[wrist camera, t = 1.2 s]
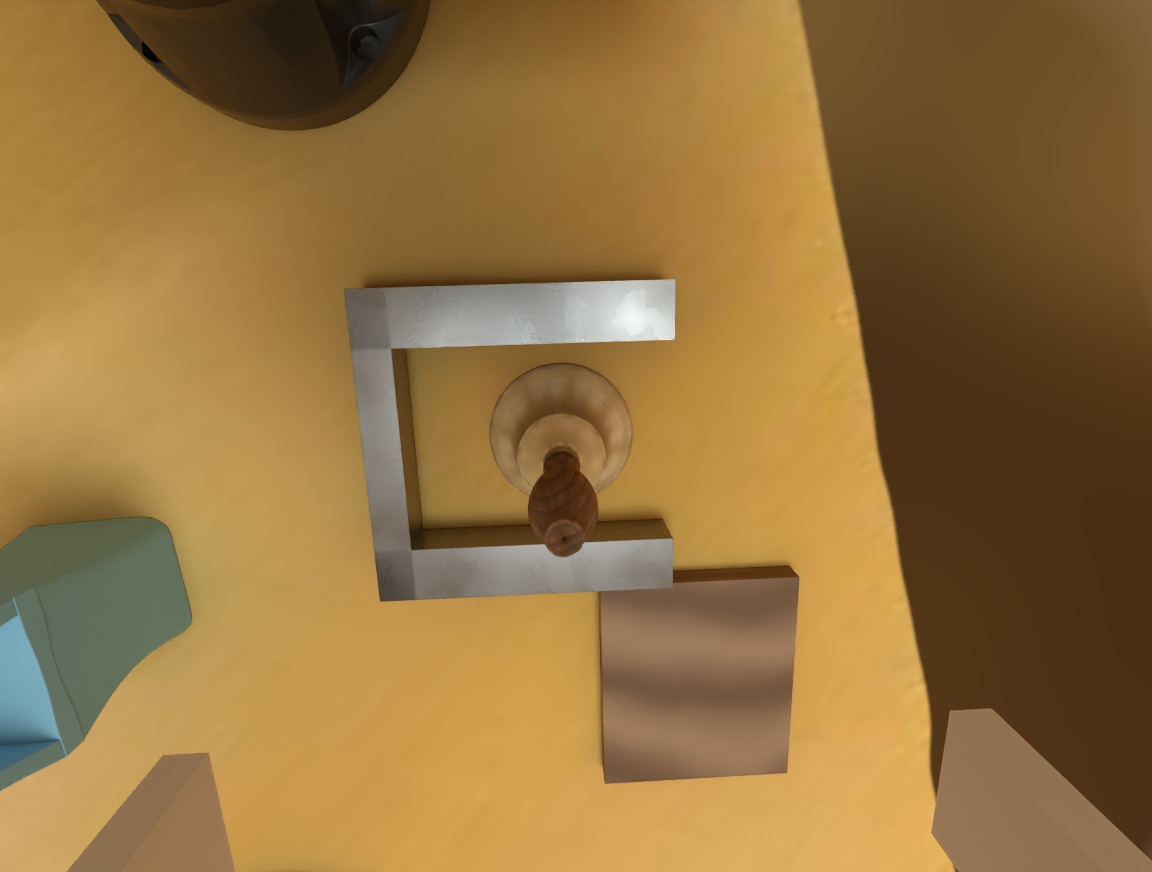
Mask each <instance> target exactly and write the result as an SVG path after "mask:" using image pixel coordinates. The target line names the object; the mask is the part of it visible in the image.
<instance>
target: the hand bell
mask: <svg viewBox="0 0 1152 872" xmlns="http://www.w3.org/2000/svg"><path fill="white" fill-rule="evenodd" d="M490 443H491V449H492V452H493V455H494V458H495V461H496V463H497V465H498V467H499V468H500V470H501V471H502V473H503V474H504V476H505V477H506V478H507V479H508V480H509V481H510V482H511V483H512V484H513V485H514V486H515V487H516V488H518V489H519V490H520V491H522V492H524V493H525V494H527V495H529V496H530V497H529V504H528V516H529V522H530V525H531V527H532V529H533V531H534V533H535V534H536V536H537V537H538V539H539V540H540V541H541V542H542V543H543V544H545V545H546V547H547V549H548V550H549V551H550V552H551V553H552V554H554V555H556V556H558V557H564V558H565V557H568V556H571V555H573V554H575V553H577V552H578V551H580V549H581V548H582V546H583V544H584V542H586V541H587V540H588V538H589V537H590V536H591V534H592V532H593V531H594V528H595V526H596V523H597V519H598V501H597V497H596V494H597V493H598V492H600V491H601V490H603V489H604V488H605V487H607V486H608V485H609V484H610V483H611V482H612V481H613V480H614V479H615V478H616V477H617V476H618V474H619V473H620V471H621V470H622V468H623V466H624V465H625V463H626V461H627V458H628V455H629V453H630V449H631V443H632V423H631V418H630V414H629V411H628V408H627V406H626V403H625V401H624V400H623V398H622V397H621V395H620V393H619V392H618V391H617V389H616V388H615V387H614V386H613V385H612V384H611V383H610V382H609V381H608V380H606V379H605V378H604V377H602V376H601V375H599V374H598V373H596V372H594V371H592V370H590V369H587V368H585V367H581V366H577V365H571V364H550V365H545V366H541V367H538V368H535V369H533V370H530V371H528V372H526V373H525V374H523V375H522V376H520V377H519V378H517V379H516V380H515V381H514V382H512V383H511V384H510V385H509V386H508V387H507V389H506V390H505V391H504V392H503V394H502V395H501V396H500V398H499V400H498V402H497V404H496V406H495V409H494V411H493V415H492V419H491V424H490Z"/></svg>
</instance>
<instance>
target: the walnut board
mask: <svg viewBox="0 0 1152 872" xmlns="http://www.w3.org/2000/svg"><path fill="white" fill-rule="evenodd" d="M798 590H799V576H798V575H797V574H796V573H795V572H794V571H793V570H792V568H791V567H790V566H781V567H759V568H738V569H716V570H694V571H673V588H656V589H635V590H614V591H599V618H600V664H601V709H602V754H603V772H604V781H605V784H609V783H626V782H643V781H660V780H677V779H694V778H711V777H728V776H745V775H762V774H779V773H787V765H788V749H789V733H790V717H791V702H792V686H793V670H794V654H795V638H796V622H797V606H798Z"/></svg>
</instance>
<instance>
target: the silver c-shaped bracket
mask: <svg viewBox="0 0 1152 872" xmlns="http://www.w3.org/2000/svg"><path fill="white" fill-rule="evenodd" d="M344 294H345V303H346V311H347V320H348V329H349V337H350V346H351V355H352V363H353V372H354V380H355V389H356V398H357V406H358V415H359V424H360V432H361V441H362V449H363V458H364V467H365V475H366V484H367V493H368V501H369V510H370V518H371V527H372V536H373V544H374V553H375V561H376V570H377V579H378V587H379V596H380V602H382V601H403V600H424V599H445V598H466V597H487V596H508V595H530V594H551V593H572V592H593V591H614V590H635V589H656V588H673V538H672V536H671V534H670V532H669V530H668V528H667V526H666V524H665V522H664V520H663V519H652V520H629V521H606V522H597V523H596V526H595V528H594V531H593V532H592V534H591V536H590V537H589V538H588V540H587V541H586V542H584V544H583V546H582V548H581V549H580V551H578V552H577V553H575V554H573V555H571V556H568V557H565V558H564V557H558V556H556V555H554V554H552V553H551V552H550V551H549V550H548V549H547V547H546V545H545V544H543V543H542V542H541V541H540V540H539V539H538V537H537V536H536V534H535V533H534V531H533V529H532V527H531V525H513V526H490V527H467V528H444V529H423V526H422V515H421V505H420V494H419V484H418V473H417V463H416V452H415V441H414V431H413V420H412V410H411V399H410V389H409V378H408V368H407V357H406V348H426V347H457V346H488V345H519V344H550V343H580V342H611V341H642V340H673V339H675V279H666V280H632V281H597V282H562V283H528V284H493V285H458V286H424V287H389V288H354V289H344Z"/></svg>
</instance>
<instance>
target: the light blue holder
mask: <svg viewBox="0 0 1152 872" xmlns="http://www.w3.org/2000/svg"><path fill="white" fill-rule="evenodd" d="M191 621H192V616H191V610H190V606H189V602H188V598H187V594H186V590H185V587H184V583H183V579H182V575H181V571H180V567H179V564H178V560H177V556H176V552H175V548H174V544H173V541H172V537H171V534H170V531H169V529H168V528H167V526H166V525H164V524H163V523H161V522H160V521H158V520H156V519H154V518H150V517H130V518H118V519H108V520H97V521H86V522H75V523H65V524H54V525H43V526H32V527H28V528H27V529H26V530H25V531H23V532H22V533H21V534H20V535H19V536H17V537H16V538H15V539H14V540H13V541H11V542H10V543H9V544H7V545H6V546H5V547H3V548H2V549H0V791H1V790H3V789H4V788H6V787H8V786H10V785H12V784H14V783H15V782H17V781H19V780H21V779H23V778H25V777H27V776H29V775H31V774H33V773H35V772H37V771H39V770H41V769H43V768H45V767H47V766H49V765H51V764H53V763H55V762H57V761H59V760H60V759H62V758H64V757H67V756H68V755H69V754H70V753H71V752H72V751H73V750H74V749H75V748H76V747H77V746H78V745H80V744H81V743H82V742H83V741H84V740H85V737H86V736H87V734H88V732H89V731H90V729H91V727H92V726H93V724H94V722H95V721H96V719H97V717H98V716H99V714H100V712H101V711H102V709H103V708H104V706H105V704H106V703H107V701H108V700H109V698H110V697H111V696H112V694H113V693H114V691H115V690H116V689H117V687H118V686H119V684H120V683H121V682H122V681H123V679H124V678H125V677H126V676H127V675H128V674H129V672H130V671H131V670H132V669H133V668H134V667H135V666H136V665H137V664H138V663H139V662H141V661H142V660H143V659H144V658H145V657H146V656H147V655H149V654H150V653H151V652H152V651H154V650H155V649H156V648H158V647H159V646H161V645H162V644H164V643H166V642H167V641H169V640H171V639H172V638H174V637H176V636H178V635H179V634H181V633H183V632H184V631H185V630H186V629H187V628H188V627H189V626H190V624H191Z"/></svg>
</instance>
